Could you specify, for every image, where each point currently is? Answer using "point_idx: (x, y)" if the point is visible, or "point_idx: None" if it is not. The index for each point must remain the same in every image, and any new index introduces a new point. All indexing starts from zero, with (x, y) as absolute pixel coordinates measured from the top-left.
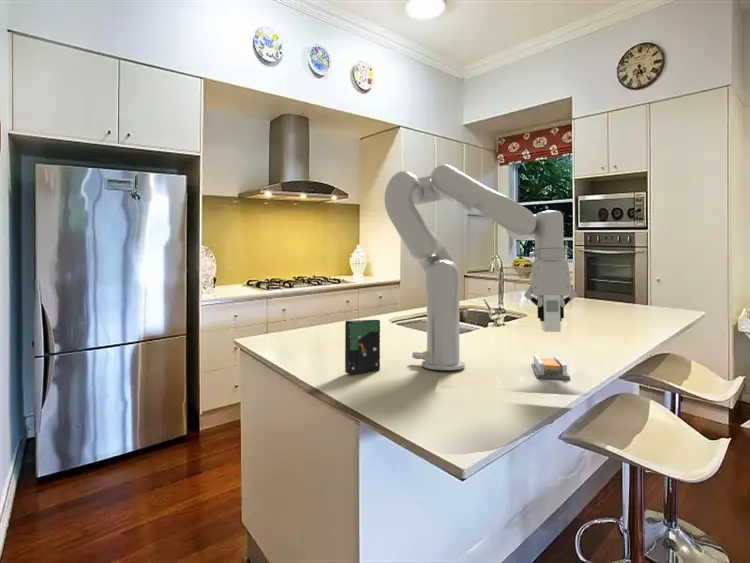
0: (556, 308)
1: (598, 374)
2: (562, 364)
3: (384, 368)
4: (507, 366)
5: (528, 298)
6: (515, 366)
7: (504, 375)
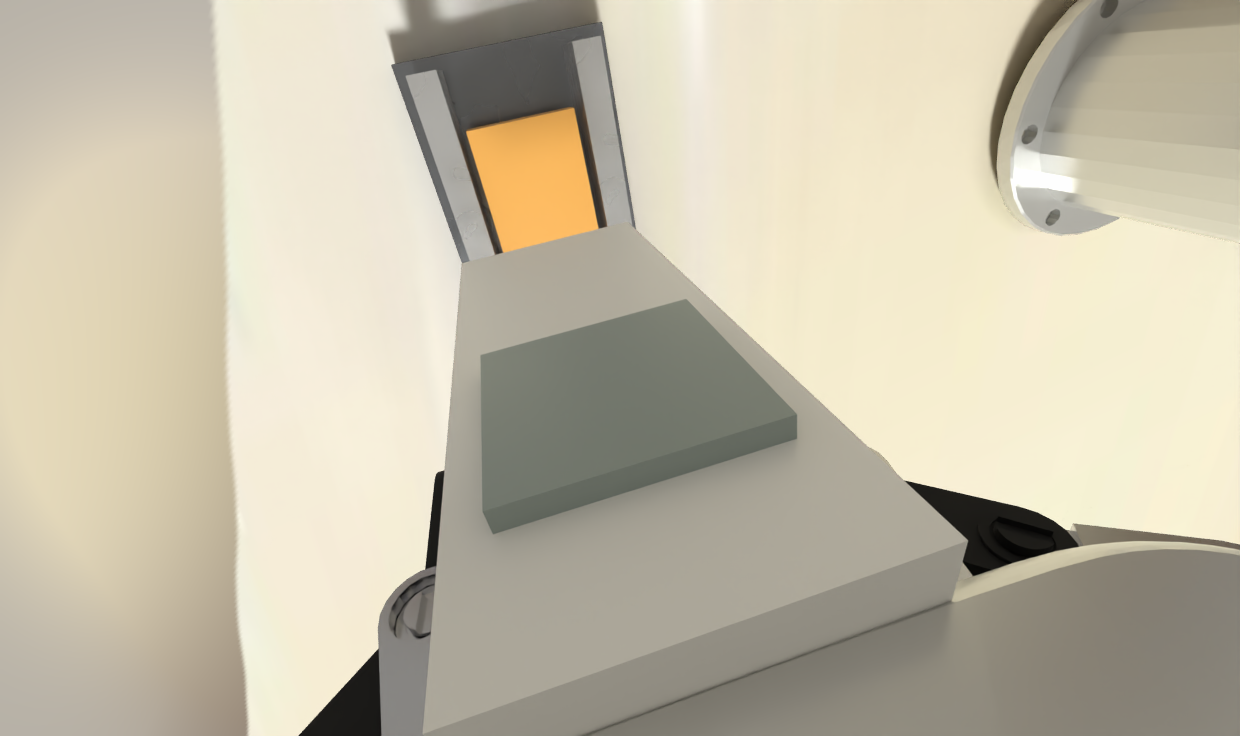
0: (520, 378)
1: (282, 341)
2: (441, 92)
3: None
4: (766, 326)
5: (1129, 538)
6: None
7: (790, 48)
